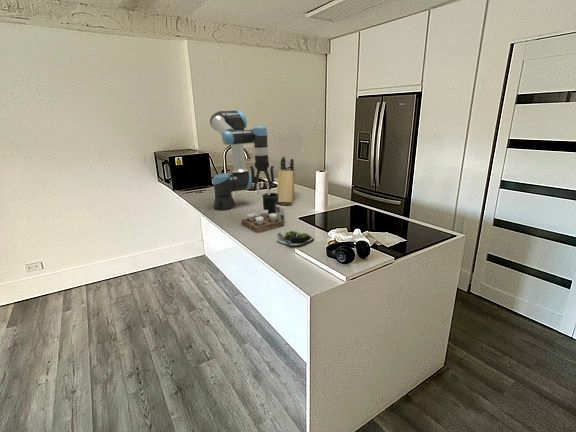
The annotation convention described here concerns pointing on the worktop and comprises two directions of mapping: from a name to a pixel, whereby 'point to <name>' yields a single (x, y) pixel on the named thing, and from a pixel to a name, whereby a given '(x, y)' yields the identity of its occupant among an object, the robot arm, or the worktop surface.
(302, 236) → the salad plate
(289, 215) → the worktop surface
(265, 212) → the button
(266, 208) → the mug
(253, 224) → the board
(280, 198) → the knife block
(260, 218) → the button
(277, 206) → the card
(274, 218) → the button
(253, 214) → the button
